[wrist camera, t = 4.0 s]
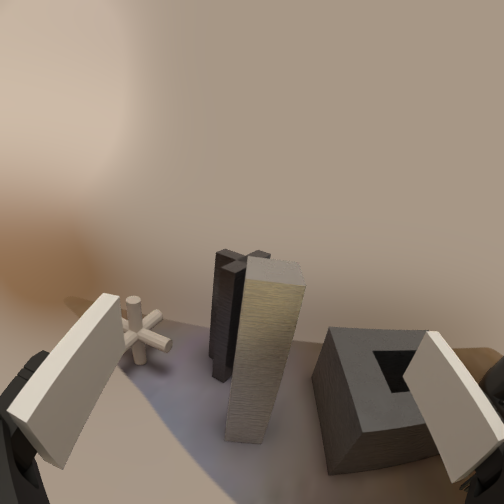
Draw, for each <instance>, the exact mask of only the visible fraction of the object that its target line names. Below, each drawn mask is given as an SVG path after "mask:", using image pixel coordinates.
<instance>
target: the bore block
mask: <svg viewBox="0 0 504 504" xmlns="http://www.w3.org/2000/svg"><path fill="white" fill-rule="evenodd" d="M426 331H429V330H381V329H358V328H338V327H329V328H328V331H327V334H326V337H325V341H324V343H323V346H322V349H321V352H320V355H319V358H318V361H317V363H316V366H315V369H314V372H313V374H312V383H313V388H314V393H315V398H316V404H317V409H318V415H319V420H320V426H321V432H322V438H323V443H324V449H325V455H326V462H327V468H328V474H329V475H337V474H346V473H355V472H362V471H368V470H375V469H380V468H386V467H391V466H395V465H400V464H404V463H409V462H413V461H417V460H420V459H424V458H428V457H431V456H434V455H438V454H440V453H439V451H438V449H437V446H436V444H435V442H434V440H433V437H432V435H431V433H430V431H429V429H428V427H427V424H426V422H425V420H424V418H423V416H422V414H421V412H420V410H419V408H418V406H417V404H416V402H415V400H414V398H413V396H412V394H411V392H410V390H409V388H408V386H407V384H406V382H405V380H404V378H403V375H404V373H405V371H406V369H407V368H408V366H409V364H410V362H411V360H412V358H413V357H414V355H415V353H416V351H417V349H418V347H419V345H420V343H421V341H422V339H423V337H424V335H425V333H426Z"/></svg>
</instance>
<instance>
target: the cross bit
mask: <svg viewBox="0 0 504 504" xmlns="http://www.w3.org/2000/svg"><path fill="white" fill-rule="evenodd" d="M248 256H252V257H260V258H267V259H270V256H271V254H269V253H266V252H263V251H260V250H257V251H255V252H252V253H250V254H248V255H246V256H244V255H242V254H239V253H236V252H233V251H230V250H227V249H223V250H221V251H218V252H216V259H215V271H214V283H213V296H212V310H211V325H210V341H209V357H210V358H212V359H214V360H213V375H212V377H214V378H216V379H217V380H219V381H221V382H222V383H224V382H225V381H226V380H227V379H228V378H229V377H231V376H232V373H233V366H234V358H235V350H236V342H237V335H238V327H239V319H240V312H241V304H242V297H243V289H244V281H245V274H246V266H247V259H248Z"/></svg>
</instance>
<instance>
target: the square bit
mask: <svg viewBox="0 0 504 504" xmlns="http://www.w3.org/2000/svg"><path fill="white" fill-rule="evenodd" d="M305 288H306V284H305V281H304V278H303V275H302V272H301V269H300V265H299V263H298V262H290V261H282V260H275V259H267V258H260V257H252V256H248V259H247V266H246V274H245V281H244V289H243V297H242V304H241V312H240V319H239V327H238V335H237V342H236V350H235V358H234V366H233V373H232V381H231V389H230V397H229V404H228V412H227V421H226V430H225V439H224V441H231V442H241V443H253V444H261V443H262V440H263V437H264V434H265V431H266V428H267V425H268V422H269V419H270V416H271V413H272V409H273V406H274V403H275V400H276V396H277V393H278V390H279V386H280V383H281V380H282V376H283V373H284V369H285V366H286V362H287V359H288V355H289V351H290V348H291V344H292V340H293V336H294V333H295V329H296V325H297V321H298V317H299V312H300V309H301V305H302V301H303V297H304V292H305Z"/></svg>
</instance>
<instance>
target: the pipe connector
mask: <svg viewBox="0 0 504 504" xmlns="http://www.w3.org/2000/svg"><path fill="white" fill-rule="evenodd" d="M126 305H127V315H128V320H126V319H123V318H122V324H123V332H124V333H125V334H124V340H125V347H126V350H125V352H126V351H127V350H128V349H129V348H130V347H132V351H133V357H134V362H135V363H136V364H137V365H143V364H145V363H146V362H147V359H146V351H145V344H148V345H150V346H152V347H154V348H156V349H158V350H161V351H163V352H165V353H168V352H169V351H170V350H171V348H172V343H173V342H172V340H171V339H168V338H166V337H163V336H161V335H159V334H156V333H154V332H152V331H150V330H151V329H152V328H154V327H155V326H156V325H157V324H158V323H159V322H161V321H162V320H163V314H162V313H161V312H160V311H159V310H154V311H152V312H151V313H150V314H149V315H147V316H146V317H145V318H144V319H142V312H141V299H140V298H139V297H137V296H130V297H128V298H127V299H126ZM125 352H124V353H125ZM124 353H123V354H124Z"/></svg>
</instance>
